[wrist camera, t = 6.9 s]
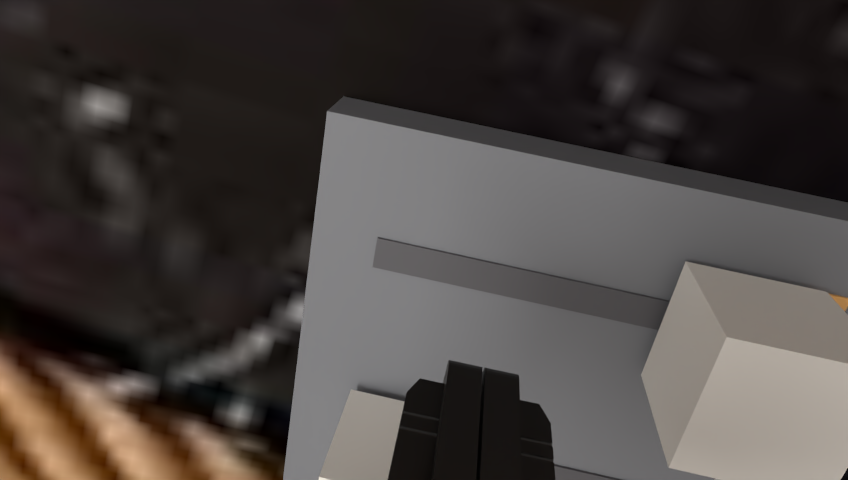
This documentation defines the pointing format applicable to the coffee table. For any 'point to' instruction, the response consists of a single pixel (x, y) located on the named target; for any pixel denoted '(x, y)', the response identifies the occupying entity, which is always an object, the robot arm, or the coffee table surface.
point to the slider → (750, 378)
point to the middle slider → (364, 439)
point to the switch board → (523, 274)
